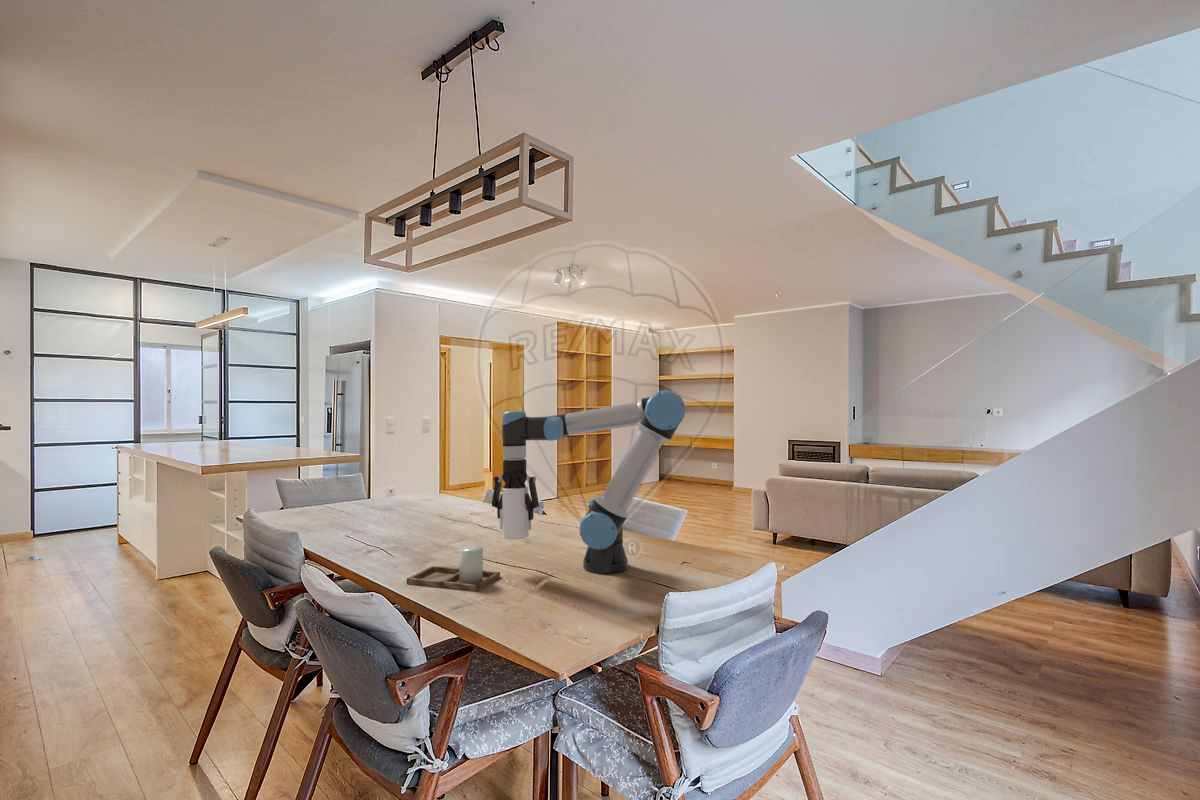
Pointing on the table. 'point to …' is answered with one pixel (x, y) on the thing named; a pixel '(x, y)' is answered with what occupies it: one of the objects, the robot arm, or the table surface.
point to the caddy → (449, 578)
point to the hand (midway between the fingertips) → (515, 529)
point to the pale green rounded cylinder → (471, 565)
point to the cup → (514, 513)
